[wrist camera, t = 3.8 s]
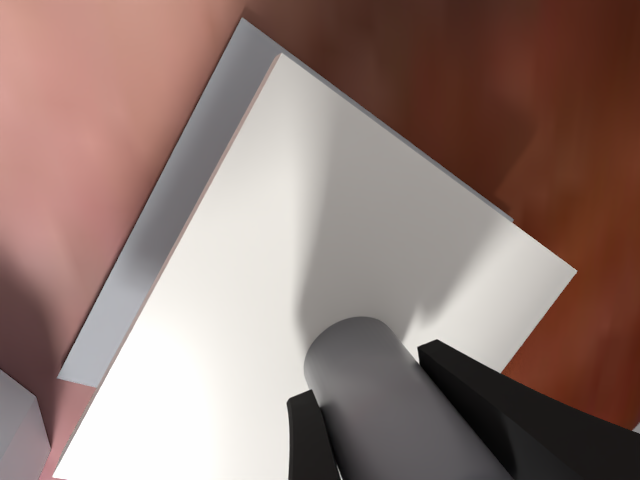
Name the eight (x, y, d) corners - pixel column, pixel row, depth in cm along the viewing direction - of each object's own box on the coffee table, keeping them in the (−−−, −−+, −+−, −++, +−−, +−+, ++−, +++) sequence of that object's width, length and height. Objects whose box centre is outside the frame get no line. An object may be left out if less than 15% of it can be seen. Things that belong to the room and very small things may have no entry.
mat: (507, 217, 17) (513, 219, 17) (350, 441, 20) (353, 448, 19) (240, 19, 12) (242, 17, 11) (60, 370, 14) (56, 378, 13)
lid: (557, 261, 13) (781, 364, 8) (379, 502, 15) (470, 708, 10) (275, 56, 8) (391, -13, 3) (62, 450, 10) (-79, 806, 5)
